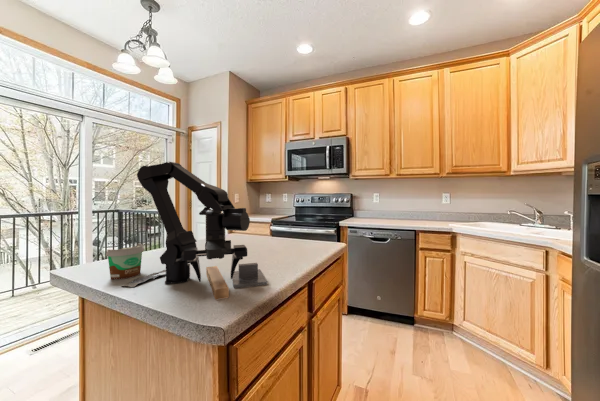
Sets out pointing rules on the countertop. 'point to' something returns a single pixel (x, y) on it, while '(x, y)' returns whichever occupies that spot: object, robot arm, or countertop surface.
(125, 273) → the food container
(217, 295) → the oak rod
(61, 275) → the countertop surface
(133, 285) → the driftwood
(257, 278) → the ridge stand
